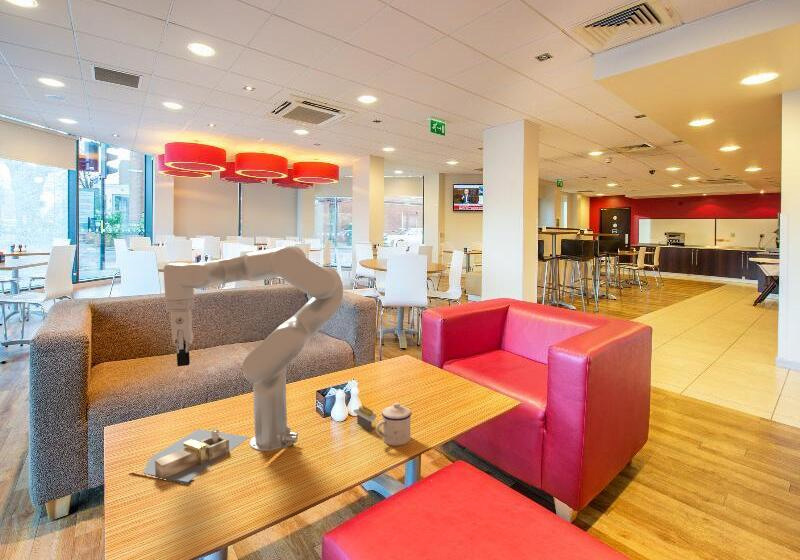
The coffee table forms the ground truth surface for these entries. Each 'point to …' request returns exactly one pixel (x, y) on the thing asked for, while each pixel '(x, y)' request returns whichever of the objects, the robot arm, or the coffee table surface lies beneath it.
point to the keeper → (197, 449)
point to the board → (193, 471)
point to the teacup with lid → (395, 425)
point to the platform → (365, 417)
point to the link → (189, 457)
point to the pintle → (215, 436)
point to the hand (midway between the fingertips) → (183, 364)
